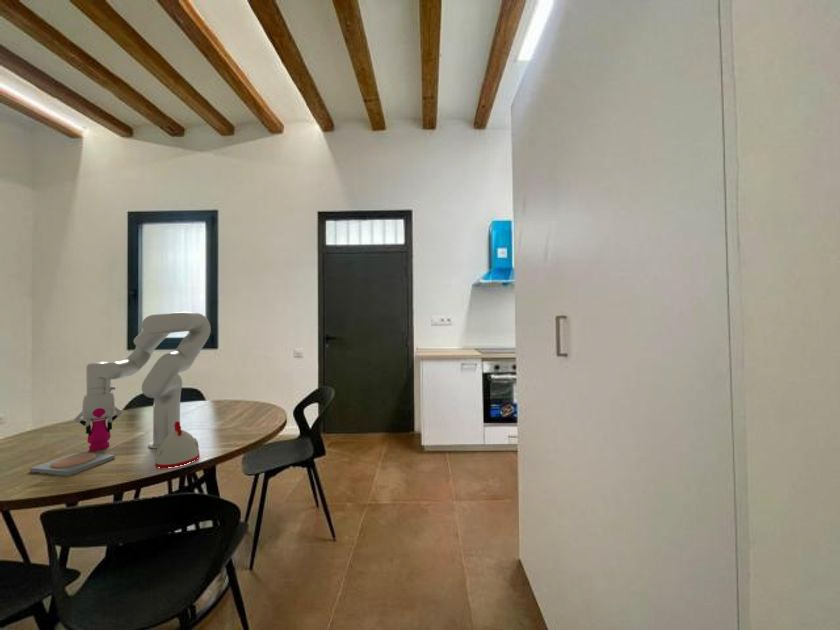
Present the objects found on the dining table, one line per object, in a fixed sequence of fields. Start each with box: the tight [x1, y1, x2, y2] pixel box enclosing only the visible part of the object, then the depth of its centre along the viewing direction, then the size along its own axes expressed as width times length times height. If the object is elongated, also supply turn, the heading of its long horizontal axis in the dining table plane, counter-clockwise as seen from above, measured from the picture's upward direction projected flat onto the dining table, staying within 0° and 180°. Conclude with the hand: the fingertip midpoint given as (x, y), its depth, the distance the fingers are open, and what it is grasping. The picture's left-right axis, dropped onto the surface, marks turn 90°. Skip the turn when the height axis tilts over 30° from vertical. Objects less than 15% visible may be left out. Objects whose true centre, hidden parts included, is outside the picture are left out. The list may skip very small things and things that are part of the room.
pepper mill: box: [86, 408, 112, 452], centre depth 144 cm, size 7×7×20 cm
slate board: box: [29, 451, 116, 477], centre depth 127 cm, size 18×15×2 cm
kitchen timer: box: [155, 421, 200, 468], centre depth 130 cm, size 14×14×15 cm
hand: (99, 432), depth 144 cm, fingers closed on pepper mill, 5 cm apart
